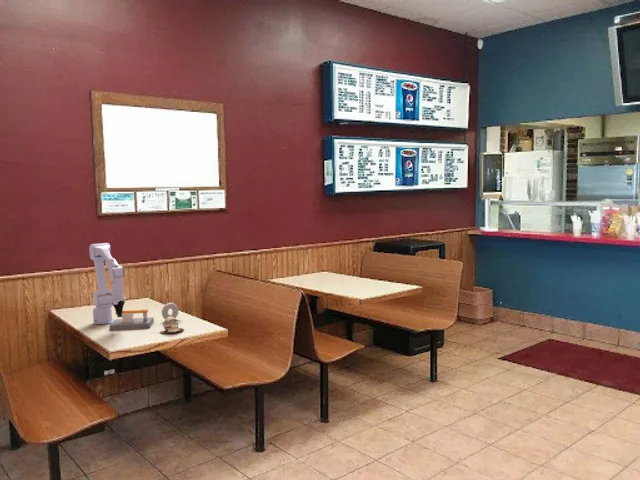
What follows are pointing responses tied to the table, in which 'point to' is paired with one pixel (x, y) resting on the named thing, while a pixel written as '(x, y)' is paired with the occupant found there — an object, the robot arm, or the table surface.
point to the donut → (167, 307)
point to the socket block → (136, 324)
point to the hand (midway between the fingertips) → (119, 315)
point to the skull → (171, 326)
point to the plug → (127, 318)
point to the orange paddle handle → (134, 311)
